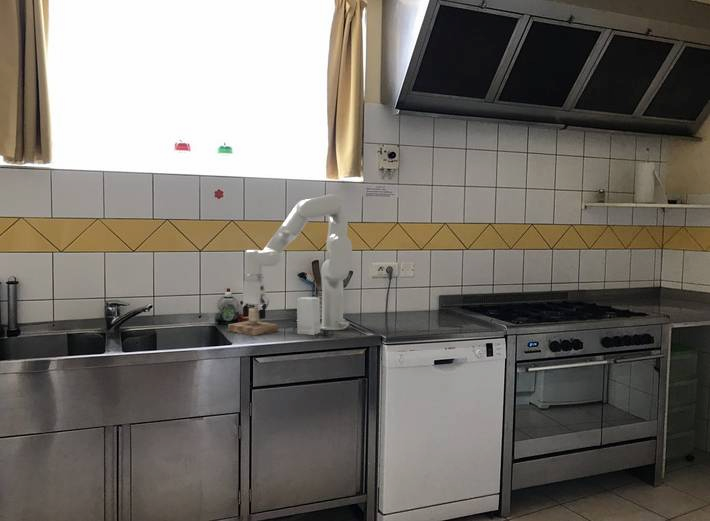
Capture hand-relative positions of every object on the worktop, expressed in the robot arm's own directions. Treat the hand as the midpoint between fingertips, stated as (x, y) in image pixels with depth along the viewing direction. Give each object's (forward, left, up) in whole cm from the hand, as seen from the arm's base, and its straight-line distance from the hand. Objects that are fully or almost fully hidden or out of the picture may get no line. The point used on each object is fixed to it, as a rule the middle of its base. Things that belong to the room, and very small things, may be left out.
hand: (254, 317), depth 260 cm
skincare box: (-22, -11, -6) cm, 25 cm away
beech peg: (0, 0, -6) cm, 6 cm away
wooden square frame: (0, 0, -6) cm, 6 cm away
